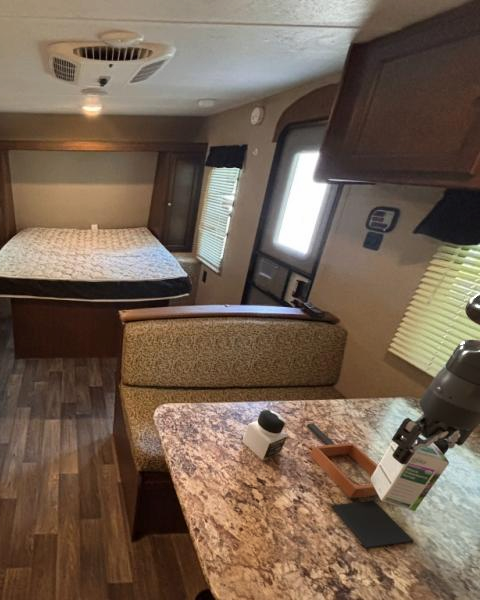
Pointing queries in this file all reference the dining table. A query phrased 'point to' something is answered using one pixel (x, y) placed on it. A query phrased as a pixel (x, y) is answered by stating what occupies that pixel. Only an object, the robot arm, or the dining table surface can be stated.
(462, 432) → the robot arm
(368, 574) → the dining table surface
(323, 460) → the pan
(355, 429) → the dining table surface
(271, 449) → the medicine bottle
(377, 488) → the syrup box
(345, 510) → the mat
